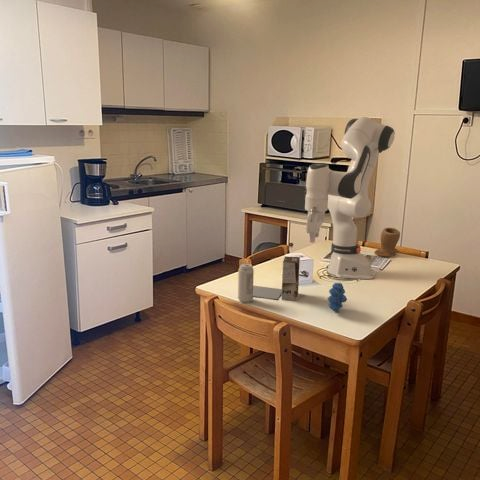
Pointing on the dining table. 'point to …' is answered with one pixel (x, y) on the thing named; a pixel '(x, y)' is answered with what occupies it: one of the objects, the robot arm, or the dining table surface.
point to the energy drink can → (245, 283)
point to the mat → (266, 292)
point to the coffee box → (290, 278)
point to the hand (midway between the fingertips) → (314, 239)
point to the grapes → (336, 297)
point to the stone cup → (388, 242)
